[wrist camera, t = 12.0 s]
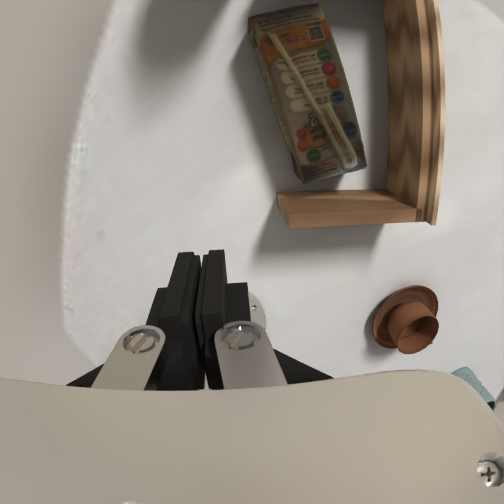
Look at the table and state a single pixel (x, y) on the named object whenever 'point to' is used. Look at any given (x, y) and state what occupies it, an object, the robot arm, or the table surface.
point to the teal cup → (476, 385)
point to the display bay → (395, 132)
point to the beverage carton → (308, 91)
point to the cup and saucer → (407, 320)
